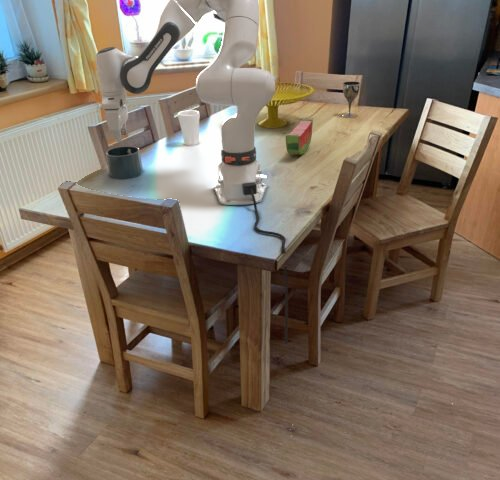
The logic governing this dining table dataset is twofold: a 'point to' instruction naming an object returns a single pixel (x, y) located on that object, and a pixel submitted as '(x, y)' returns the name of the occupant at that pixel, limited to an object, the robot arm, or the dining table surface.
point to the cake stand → (281, 100)
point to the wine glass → (350, 94)
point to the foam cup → (189, 126)
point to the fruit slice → (299, 137)
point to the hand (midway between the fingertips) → (121, 137)
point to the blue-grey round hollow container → (124, 162)
